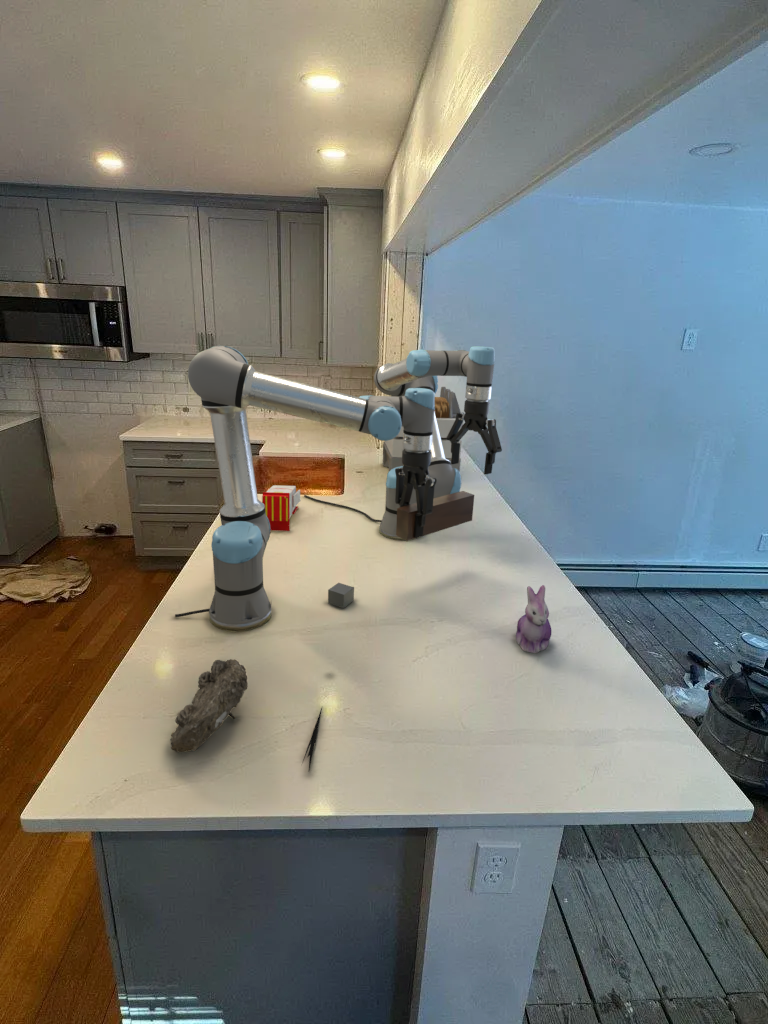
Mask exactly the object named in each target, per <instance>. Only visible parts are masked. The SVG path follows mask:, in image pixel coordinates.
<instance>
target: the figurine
mask: <svg viewBox="0 0 768 1024" xmlns="http://www.w3.org/2000/svg"><path fill="white" fill-rule="evenodd" d="M526 594H527V604H526V606H525V610H524V614H523V615H522V616H521V617H520V618H518V621H517V623H516V624H517V625H516V632H515V634H516V635H515V641H516V643H517V645H519V646H520V648H521V650H522V651H524V652H526V653H531V654H533V653H534V654H537V653H539V652H540V651H545V650H546V649H547V648H548V646H549V644H550V639H551V637H552V626H551V623H550V620H549V617H550V611H549V607H548V605H547V603H546V600H545V597H546V596H545V595H546V586H545V585H544V584H542V585H540V586H539V588H538V591H537V592H536V593H535V591H534V589H533V588H532V587H531V586H530V585H528V586H527V587H526Z"/></svg>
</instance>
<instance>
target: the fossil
mask: <svg viewBox="0 0 768 1024" xmlns="http://www.w3.org/2000/svg"><path fill="white" fill-rule="evenodd" d="M197 683H198V684H197V687H198V690H197V691H196V693H195V694H194V697H193V698H192V701H191V704H187V705H185V706H184V707H183V708H182V709H181V710H179V712H178V713H177V715H176V717H175V719H174V721H175V723H176V725H177V726H176V728H175V730H174V731H173V732H172V733H171V735H170V736H171V738H170V747H171V750H172V751H176V752H178V753H186V752H190V751H193V752H195V751H197V750H198V749H199V748H200V747H201V746H202V745H203V744H204V743H205V742H207V741H208V740H209V739H210V737H211V736H212V735H213V734H215V733H216V731H218V730H219V729H220V728H221V726H222V725H223V723H224V721H225V720H226V719H227V718H228V717H230V718H232V720H235V719H236V716H235V715H234V714H233V713H232V710H233V709H235V708H237V706H238V705H239V704H240V702H241V700H242V698H243V696H244V693H245V691H246V690H247V689H248V686H249V685H248V675H247V669H246V668H245V666H244V665H243V664H241V663H240V661H238V660H237V659H236V658H234V659H232V658H230V659H226V660H221V659H216V660H214V661H213V662H212V665H211V667H210V671H208V670H207V671H205V672H201V674H200V675H199V676H198V681H197Z"/></svg>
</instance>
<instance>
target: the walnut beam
mask: <svg viewBox="0 0 768 1024" xmlns="http://www.w3.org/2000/svg"><path fill="white" fill-rule="evenodd" d="M474 503H475V494H474V493H471V492H467V491H465V490H460V492H457V493H453V494H449V495H445V496H441V497H437V498H434V499H433V511H432V513H431V514H427V515H426V521H425V526H424V528H423V536H422V537H424V536H428V535H430V534H433V533H437V532H441V531H443V530H447V529H450V528H453V527H456V526H459V525H462V524H466V523H469V522H472V521H473V515H474V514H473V513H474ZM422 510H423V509H422ZM417 513H418V511H417V503H415V504H411V505H407V506H403V507H399V508H397V525H396V536H398V537H400V538H402V539H404V540H403V541H406V542H409V541H411V540H415V539H416V538H414V527H415V514H417Z"/></svg>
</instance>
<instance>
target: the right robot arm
mask: <svg viewBox="0 0 768 1024" xmlns="http://www.w3.org/2000/svg"><path fill="white" fill-rule="evenodd" d="M495 355H496V349H495V348H494V347H492V346H482V345H473V346H470V348H469V350H466V349H455V350H431V349H427V350H426V349H413V350H410V351H409V353H408V355H407V356H406V358H404V359H401V360H400V361H396V362H394V363H392V362H391V363H390V362H389V363H384V364H382V365H380V366H379V367H378V368H377V369H376V370H375V372H374V374H373V375H374V376H373V382H374V385H375V387H376V388H377V390H378V391H379V392H381V393H382V394H384V395H385V396H404V395H405V392H406V390H407V389H409V388H425V389H430V390H432V391H433V392H434V394H435V395H436V394H437V392H438V388H439V384H438V383H439V378H438V377H466V384H465V385H466V386H465V395H464V396H465V397H464V399H465V400H464V406H463V411H461V413H457V414H456V420H455V422H454V424H453V426H452V428H451V430H450V432H449V434H448V436H447V440H449V441H450V442H451V453H452V458H451V462H450V461H449V460H447V459H446V458H445V455H444V451H443V446H442V442H441V438H440V433H439V429H438V425H437V420H436V416H435V411H434V421H433V434H432V449H431V450H430V451H431V464H430V465H429V467H428V472H429V476H430V477H431V478H436V479H437V482H436V484H435V487H434V498H437V497H441V496H445V495H449V494H453V493H457V492H460V491H461V487H462V476H461V473H460V472H461V471H460V472H459V471H458V470H457V469H456V468H452V466H451V464H457V463H459V452H460V443H457V442H459V440H462V438H463V437H464V436H465V435H466V434H467V433H468V431H470V432H471V431H473V432H475V433H477V434H478V435H480V437H481V440H482V441H483V443H484V446H485V448H486V450H487V452H485V461H484V468H483V469H484V471H483V475H490V474H493V473H492V472H493V464H495V463H496V454H497V453H501V452H502V451H503V448H502V444H501V441H500V437H499V433H498V430H497V419H495V418H492V419H488V415H489V413H490V407H491V403H490V400H491V398H492V385H493V378H494V376H493V375H494V371H495V370H494V369H495V364H496V363H495V362H496V360H495V357H496V356H495ZM463 420H464V421H463ZM462 423H463V425H462V427H461V429H460V430H459V428H460V426H461V424H462ZM458 430H459V431H458ZM402 467H403V466H400V467H396V468H402ZM396 468H393V469H391V470H390V471H389V470H388V472H387V475H386V480H385V481H386V482H385V504H384V505H385V507H384V508H385V509H384V513H383V515H382V519H375V518H372V517H371V516H370V515H368V514H367V513H366V512H364V511H363V510H359V509H357V508H354V507H352V506H351V507H350V506H347V505H343V504H339V503H335V502H330V501H325V500H320V499H317V498H314V497H312V496H309V495H306V494H304V495H303V498H307V499H309V500H311V501H314V502H318V503H321V504H326V505H331V506H336V507H338V508H344V509H347V510H351V511H354V512H357V513H359V514H361V515H363V516H364V517H366V518H367V519H368V520H370V521H371V522H375V523H379V526H378V533H379V534H380V535H381V536H382V537H385V538H387V539H389V540H395V541H405V540H404V539H402V538H400V537H398V536H396V525H397V508H399V507H400V505H399V504H396V503H395V496H396V473H395V469H396ZM419 486H421V485H419ZM400 499H401V498H400ZM415 503H417V501H416V491H415V490H414V487H413V491H412V495H411V499H410V503H409V504H410V505H411V504H415Z"/></svg>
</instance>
